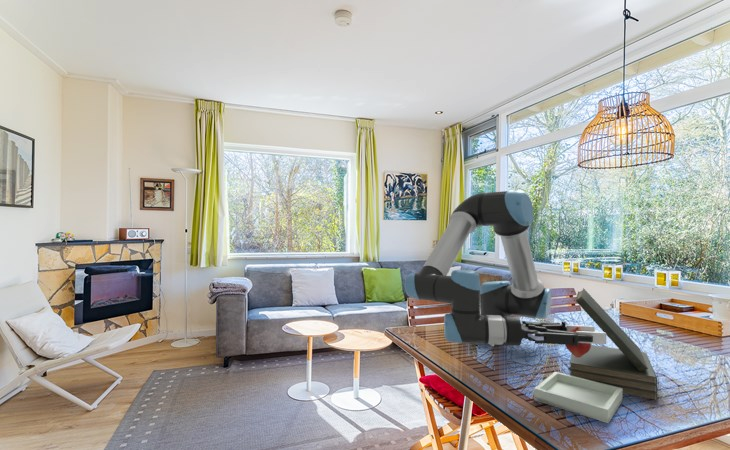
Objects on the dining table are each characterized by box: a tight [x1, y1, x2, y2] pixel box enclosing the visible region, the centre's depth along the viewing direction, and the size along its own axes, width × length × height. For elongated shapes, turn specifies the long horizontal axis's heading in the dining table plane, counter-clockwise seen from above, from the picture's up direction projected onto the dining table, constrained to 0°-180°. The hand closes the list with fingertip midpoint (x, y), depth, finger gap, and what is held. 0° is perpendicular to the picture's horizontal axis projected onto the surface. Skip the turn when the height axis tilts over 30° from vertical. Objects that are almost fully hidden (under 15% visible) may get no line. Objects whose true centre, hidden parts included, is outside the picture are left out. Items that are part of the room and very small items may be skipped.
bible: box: [569, 287, 659, 401], centre depth 107 cm, size 23×20×25 cm
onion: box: [564, 326, 592, 358], centre depth 92 cm, size 6×6×8 cm
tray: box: [533, 371, 624, 424], centre depth 92 cm, size 16×16×3 cm
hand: (599, 334), depth 91 cm, fingers closed on onion, 6 cm apart
